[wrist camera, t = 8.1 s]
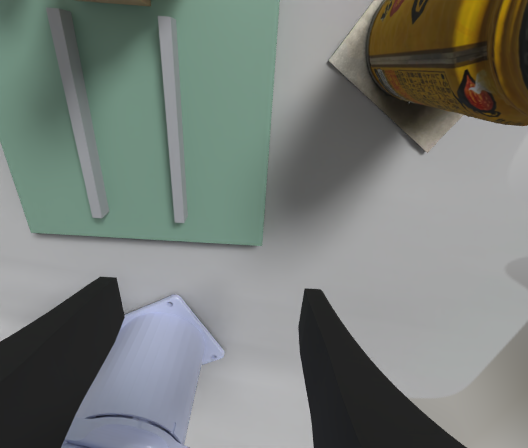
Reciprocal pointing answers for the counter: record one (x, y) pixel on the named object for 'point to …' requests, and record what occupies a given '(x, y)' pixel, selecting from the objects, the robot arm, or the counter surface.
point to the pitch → (139, 116)
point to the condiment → (440, 62)
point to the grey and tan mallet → (122, 2)
